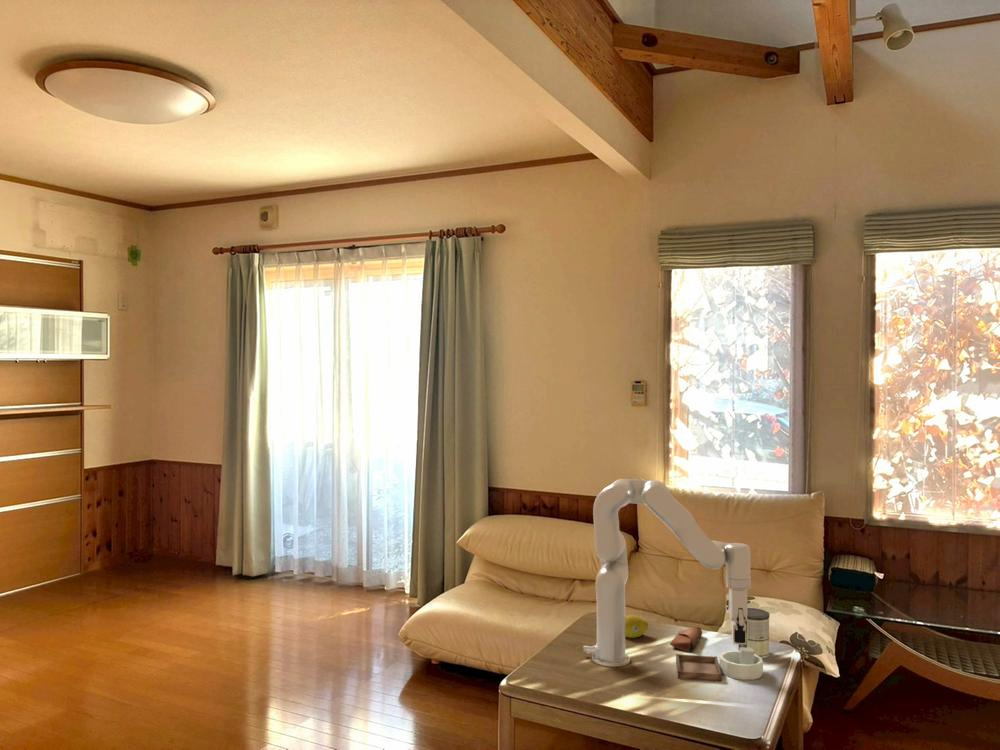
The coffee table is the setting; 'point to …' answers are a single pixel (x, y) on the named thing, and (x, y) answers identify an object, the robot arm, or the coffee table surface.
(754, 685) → the coffee table surface
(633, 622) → the lemon
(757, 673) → the celadon bowl
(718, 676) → the walnut tray
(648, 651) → the coffee table surface
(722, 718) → the coffee table surface
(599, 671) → the coffee table surface
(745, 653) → the light grey block
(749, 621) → the coffee can
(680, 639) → the sunglasses case
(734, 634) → the beige brick
